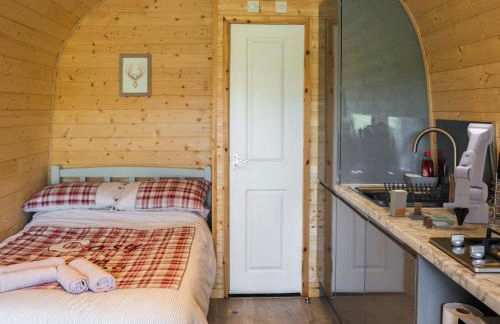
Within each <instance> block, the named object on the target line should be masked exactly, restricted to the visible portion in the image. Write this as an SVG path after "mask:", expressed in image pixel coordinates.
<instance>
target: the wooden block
mask: <svg viewBox="0 0 500 324" xmlns="http://www.w3.org/2000/svg"><path fill="white" fill-rule="evenodd" d="M449 180H450V181H449V194H448V203H454V202H455V188H456V183H455V176H454V173H452V174H450V179H449ZM446 210H447V211H449V212H450V213H452V214H453V215H456V214H455V212H454V210H453V208H446Z"/></svg>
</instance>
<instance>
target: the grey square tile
mask: <svg viewBox="0 0 500 324" xmlns="http://www.w3.org/2000/svg"><path fill="white" fill-rule="evenodd" d="M433 226H434V227H435V228H440V229H439V230H448V229H450V230H451V228H452V226H451V225H449V224H447V223H446V222H433V225H432V227H433ZM434 227H433V228H434ZM435 228H434V229H435Z"/></svg>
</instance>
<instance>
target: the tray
mask: <svg viewBox="0 0 500 324" xmlns="http://www.w3.org/2000/svg"><path fill="white" fill-rule="evenodd" d="M428 216H429V217H430V218H432V219H433V222H446V223H447V224H449V225H450V226H451V225H452V226H454V223H455V220H454V219H453V218H451V217H450V216H449V215H432V214H431V215H430V214H429V215H428Z"/></svg>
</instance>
